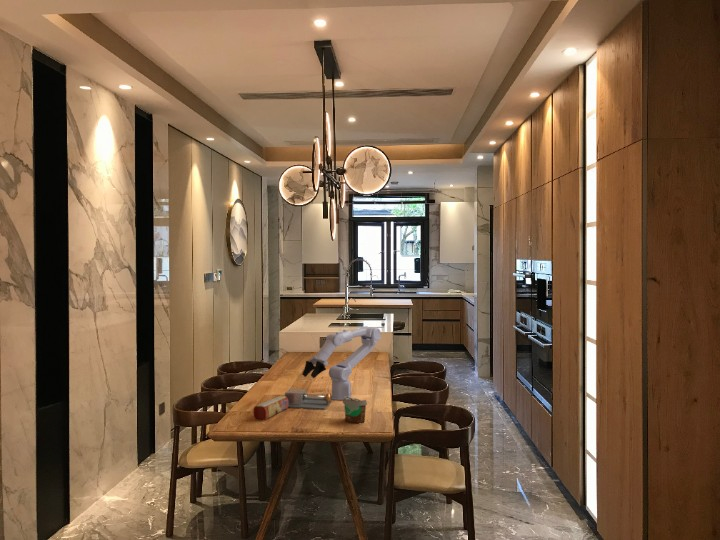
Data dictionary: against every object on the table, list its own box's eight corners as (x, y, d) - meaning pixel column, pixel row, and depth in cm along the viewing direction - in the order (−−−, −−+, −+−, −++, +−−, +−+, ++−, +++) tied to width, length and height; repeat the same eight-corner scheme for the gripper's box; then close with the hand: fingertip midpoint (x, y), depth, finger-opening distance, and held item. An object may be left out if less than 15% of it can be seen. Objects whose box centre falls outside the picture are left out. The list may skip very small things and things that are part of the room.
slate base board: (331, 402, 271) (331, 400, 271) (324, 409, 257) (324, 408, 257) (288, 399, 275) (288, 398, 275) (279, 407, 261) (278, 405, 261)
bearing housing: (306, 400, 270) (306, 389, 270) (301, 405, 262) (301, 393, 262) (290, 400, 272) (290, 388, 272) (285, 404, 264) (285, 392, 264)
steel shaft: (331, 401, 266) (331, 392, 266) (329, 404, 262) (329, 394, 262) (299, 400, 269) (298, 391, 269) (296, 402, 265) (296, 393, 265)
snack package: (277, 408, 261) (277, 393, 261) (289, 409, 259) (289, 395, 259) (252, 420, 242) (252, 404, 241) (265, 422, 239) (265, 406, 239)
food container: (336, 420, 241) (336, 397, 241) (347, 417, 245) (347, 394, 245) (356, 426, 232) (356, 402, 232) (366, 423, 237) (367, 400, 236)
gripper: (310, 348, 276) (294, 369, 269) (327, 349, 264) (310, 371, 258) (319, 357, 278) (304, 379, 272) (336, 358, 267) (320, 381, 260)
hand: (307, 376), depth 265 cm, fingers open, 7 cm apart
